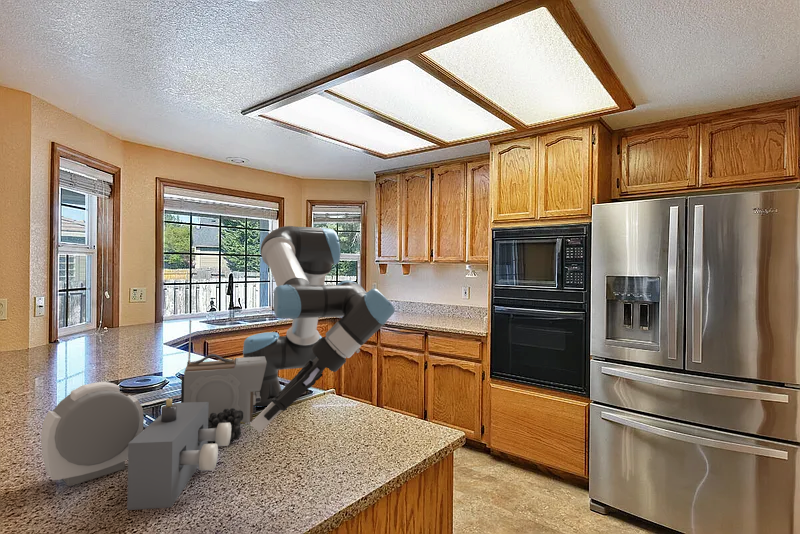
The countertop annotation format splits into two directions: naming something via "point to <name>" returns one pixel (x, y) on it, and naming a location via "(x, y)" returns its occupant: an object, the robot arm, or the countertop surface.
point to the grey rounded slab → (90, 433)
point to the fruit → (227, 421)
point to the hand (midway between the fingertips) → (255, 427)
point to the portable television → (224, 383)
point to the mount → (164, 457)
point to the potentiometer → (168, 412)
